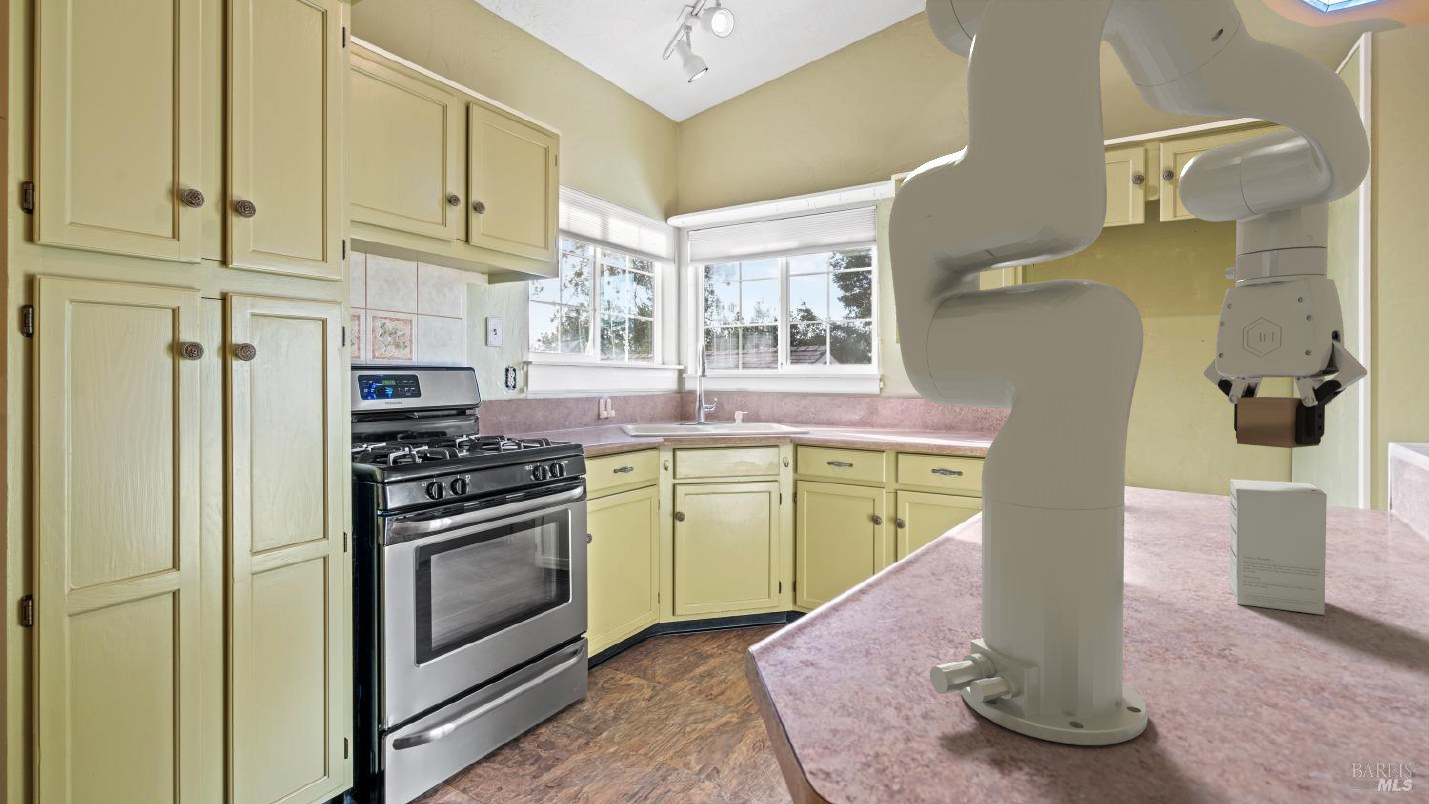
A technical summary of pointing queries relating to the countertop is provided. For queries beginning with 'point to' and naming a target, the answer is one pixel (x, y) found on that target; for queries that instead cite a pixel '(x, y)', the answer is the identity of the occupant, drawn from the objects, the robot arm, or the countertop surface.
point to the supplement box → (1278, 545)
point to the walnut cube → (1268, 421)
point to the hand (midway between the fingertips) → (1277, 440)
